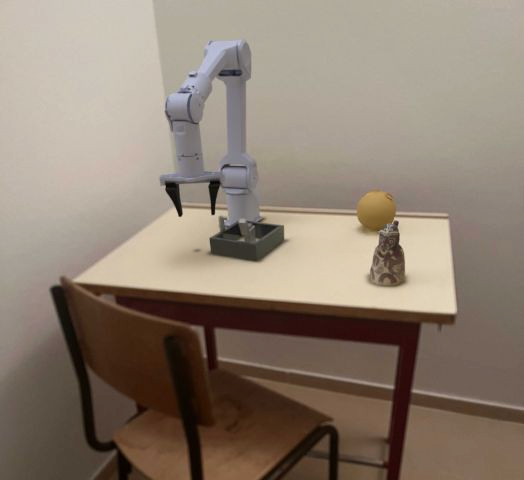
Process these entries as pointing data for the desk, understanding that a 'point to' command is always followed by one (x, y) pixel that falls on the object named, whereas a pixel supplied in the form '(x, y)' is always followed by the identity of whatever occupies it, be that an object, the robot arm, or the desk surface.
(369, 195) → the stress ball
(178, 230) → the desk surface
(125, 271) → the desk surface
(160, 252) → the desk surface
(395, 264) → the figurine
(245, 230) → the lighter
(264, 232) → the sink
